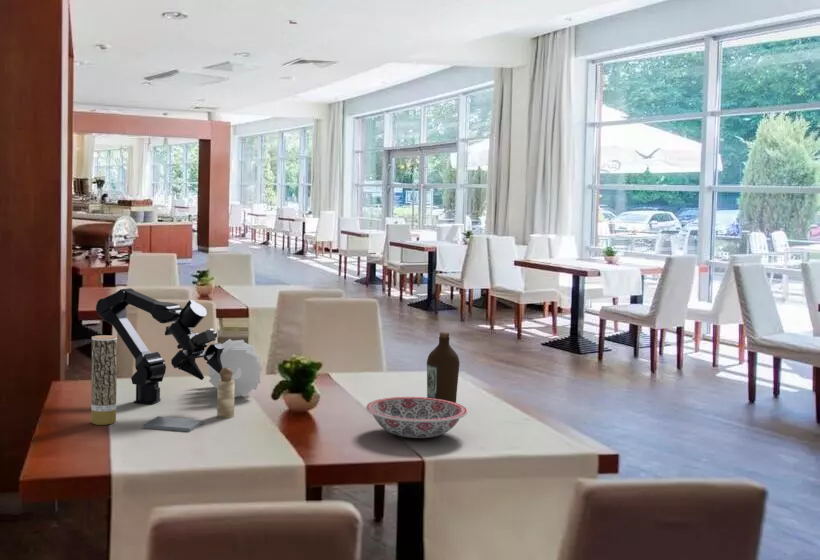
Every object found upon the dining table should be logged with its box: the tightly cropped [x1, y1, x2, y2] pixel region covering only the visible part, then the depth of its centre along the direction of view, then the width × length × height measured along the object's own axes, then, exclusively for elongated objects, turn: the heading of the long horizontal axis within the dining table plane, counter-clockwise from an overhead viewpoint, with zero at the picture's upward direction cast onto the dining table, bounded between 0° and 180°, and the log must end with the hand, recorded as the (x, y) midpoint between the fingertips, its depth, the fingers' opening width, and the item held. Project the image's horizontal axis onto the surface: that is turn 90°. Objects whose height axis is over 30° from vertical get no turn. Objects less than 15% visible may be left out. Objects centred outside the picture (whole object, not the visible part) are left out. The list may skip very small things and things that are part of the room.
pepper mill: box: [216, 367, 235, 419], centre depth 269 cm, size 5×5×15 cm
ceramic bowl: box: [365, 396, 468, 439], centre depth 257 cm, size 29×29×8 cm
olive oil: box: [426, 331, 460, 403], centre depth 290 cm, size 11×11×25 cm
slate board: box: [142, 415, 204, 433], centre depth 257 cm, size 14×10×1 cm
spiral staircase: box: [207, 338, 263, 398], centre depth 302 cm, size 18×18×25 cm
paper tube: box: [90, 334, 118, 426], centre depth 256 cm, size 7×7×25 cm
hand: (213, 376), depth 271 cm, fingers open, 9 cm apart
